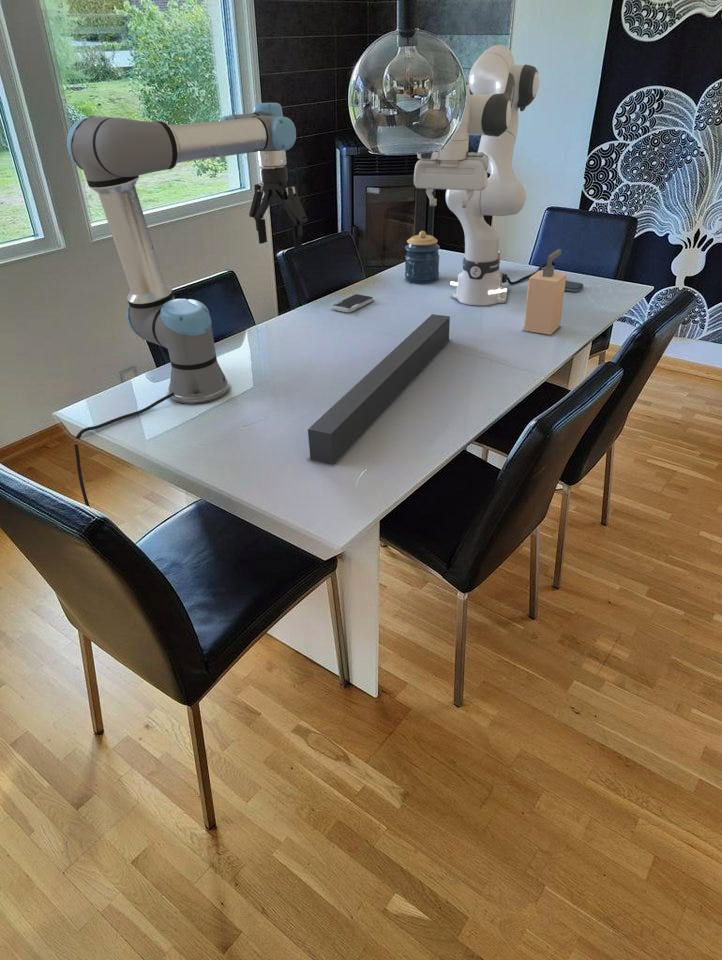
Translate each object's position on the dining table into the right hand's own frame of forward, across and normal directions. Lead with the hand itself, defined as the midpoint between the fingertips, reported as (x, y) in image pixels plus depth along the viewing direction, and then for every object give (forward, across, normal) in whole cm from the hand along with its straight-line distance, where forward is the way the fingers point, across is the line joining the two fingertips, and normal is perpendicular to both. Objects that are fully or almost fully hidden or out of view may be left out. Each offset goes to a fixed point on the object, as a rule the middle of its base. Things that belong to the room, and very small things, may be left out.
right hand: (449, 206), depth 186 cm
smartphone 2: (+36, -23, -59) cm, 73 cm away
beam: (+38, 0, +42) cm, 56 cm away
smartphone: (+37, +39, -16) cm, 56 cm away
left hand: (+11, +47, +15) cm, 50 cm away
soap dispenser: (+37, -27, -18) cm, 49 cm away
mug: (+36, +5, -70) cm, 78 cm away
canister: (+36, +27, -53) cm, 69 cm away
